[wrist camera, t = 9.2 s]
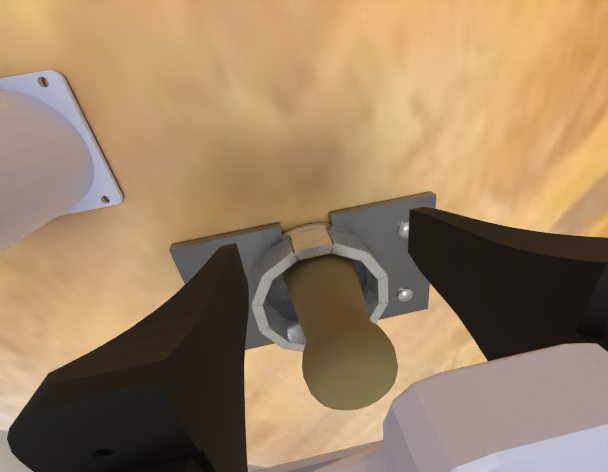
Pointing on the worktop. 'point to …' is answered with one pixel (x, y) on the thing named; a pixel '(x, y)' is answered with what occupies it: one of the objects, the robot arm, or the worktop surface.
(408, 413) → the robot arm
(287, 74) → the worktop surface
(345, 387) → the olive brown pawn
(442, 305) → the worktop surface
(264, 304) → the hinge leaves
